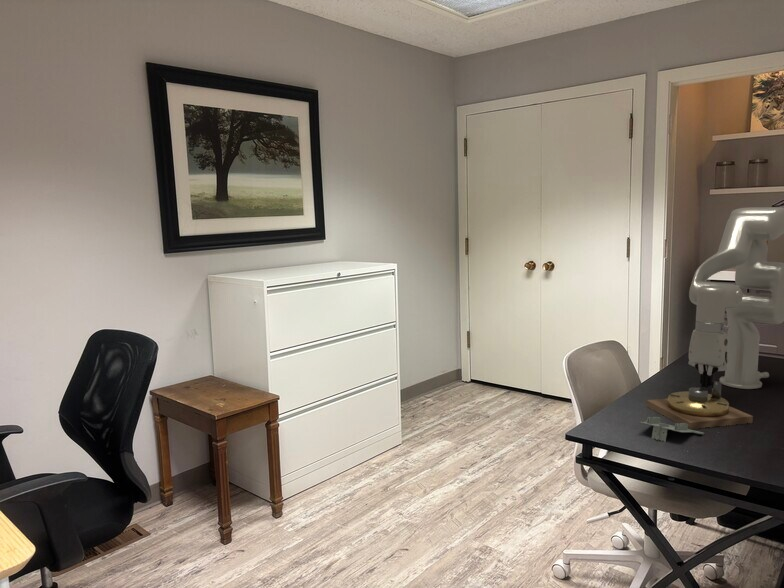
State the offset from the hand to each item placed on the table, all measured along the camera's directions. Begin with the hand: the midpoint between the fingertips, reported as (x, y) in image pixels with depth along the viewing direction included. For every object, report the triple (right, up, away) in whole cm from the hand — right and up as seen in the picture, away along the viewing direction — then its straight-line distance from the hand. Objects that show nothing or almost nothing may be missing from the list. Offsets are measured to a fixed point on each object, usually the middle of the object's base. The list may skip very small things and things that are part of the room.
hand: (706, 386), depth 181 cm
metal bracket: (-20, -11, -17) cm, 28 cm away
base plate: (-4, -8, -3) cm, 10 cm away
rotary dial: (-5, -5, -4) cm, 8 cm away
